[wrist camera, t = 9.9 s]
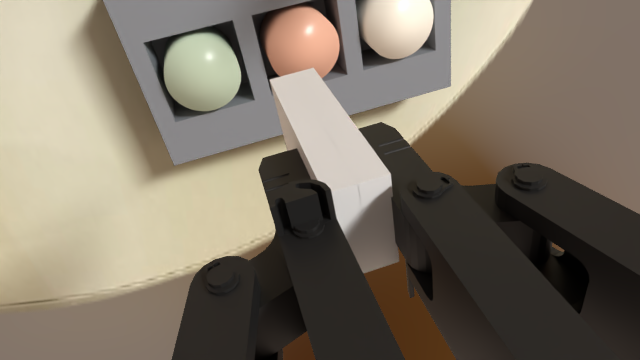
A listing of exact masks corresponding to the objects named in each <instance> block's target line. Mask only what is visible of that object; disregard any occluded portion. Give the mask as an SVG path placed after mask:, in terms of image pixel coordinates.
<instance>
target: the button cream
mask: <svg viewBox="0 0 640 360" xmlns="http://www.w3.org/2000/svg"><path fill="white" fill-rule="evenodd" d="M355 4H356V13H357V21H358V29H359V37H360V38H361V39H362V40H363V41H364V42H366V43H367V44H368V45H369V46H370V47H371V48H372V49H373V50H375V51H376V52H377V53H378V54H379V55H381V56H383V57H385V58H389V59H400V58H404V57H407V56H409V55H411V54H413V53H414V52H416V51H417V50H418V49H419V48H420V47H421V46H422V45H423V44H424V43H425V41H426V40H427V38H428V36H429V34H430V32H431V29H432V25H433V16H434V15H433V8H432V5H431V2H430V0H355Z"/></svg>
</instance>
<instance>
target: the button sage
mask: <svg viewBox="0 0 640 360" xmlns="http://www.w3.org/2000/svg"><path fill="white" fill-rule="evenodd" d="M164 80H165V84H166V87H167V89H168V91H169V93H170V94H171V96H172V97H173V98H174V99H175V100H176V101H177V102H178V103H180V104H181V105H183V106H185V107H187V108H189V109H192V110H196V111H211V110H215V109H218V108H221V107H223V106H224V105H226V104H227V103H229V102H230V101H231V100H232V99H233V98H234V96H235V95H236V93H237V91H238V89H239V86H240V82H241V71H240V67H239V64H238V61H237V58H236V55H235V53H234V50H233V47H232V45H231V43H230V41H229V40H228V38H227V37H226V36H225V35H224V34H223V33H222V32H221V31H219V30H218V29H216V28H214V27H212V26H208V27H204V28H200V29H196V30H192V31H188V32H184V33H180V34H176V35H172V36H171V37H170V38H169V40H168V42H167V44H166V47H165V52H164Z"/></svg>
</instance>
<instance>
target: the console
mask: <svg viewBox="0 0 640 360" xmlns="http://www.w3.org/2000/svg"><path fill="white" fill-rule="evenodd" d="M103 2H104V4H105V6H106V9H107V11H108V13H109V16H110V18H111V20H112V22H113V25H114V27H115V29H116V32H117V34H118V36H119V39H120V41H121V43H122V46H123V48H124V50H125V53H126V55H127V57H128V59H129V62H130V64H131V66H132V69H133V71H134V73H135V76H136V78H137V80H138V83H139V85H140V87H141V90H142V92H143V94H144V96H145V99H146V101H147V103H148V106H149V108H150V110H151V113H152V115H153V117H154V120H155V122H156V124H157V127H158V129H159V131H160V133H161V136H162V138H163V140H164V143H165V145H166V147H167V150H168V152H169V154H170V157H171V159H172V161H173V164H174V166H175V165H178V164H181V163H185V162H188V161H192V160H195V159H199V158H202V157H206V156H209V155H213V154H216V153H220V152H223V151H227V150H230V149H234V148H237V147H241V146H244V145H248V144H251V143H255V142H258V141H262V140H265V139H269V138H272V137H276V136H279V135H283V132H282V128H281V124H280V120H279V116H278V112H277V108H276V104H275V100H274V96H273V92H272V88H271V84H270V79H273V78H277V77H280V76H279V75H278V74H277V73H276V72H275V70H274V69H273V67H272V65H271V63H270V61H269V59H268V58H267V56H266V54H265V52H264V50H263V48H262V45H261V41H260V28H261V24H262V21H263V19H264V17H265V16H266V14H267V13H268V12H269V11H271V10H275V9H279V8H283V7H287V6H291V5H295V4H298V3H302V2H307V3H309V4H311V5H312V6H314V7H315V8H316V9H317V10H318V11H319V12H320V13H321V14H322V15H323V16H324V17H325V18H326V19H327V20H328V21H329V22H330V23H331V24H332V25H333V26H334V28H335V30H336V32H337V34H338V38H339V45H340V46H339V55H338V58H337V61H336V63H335V65H334V66H333V68H332V69H331V71H330V72H329V73H328V74H327V75H326V76H324V77H323V78H322V80H323V81H324V83H325V84H326V85H327V87H328V88H329V89H330V91H331V92H332V94H333V95H334V96H335V98H336V99H337V100H338V102H339V103H340V105H341V106H342V107H343V109H344V110H345V111H346V113H347V114H348V116H349V115H352V114H356V113H359V112H363V111H366V110H370V109H373V108H377V107H380V106H384V105H387V104H391V103H394V102H398V101H401V100H405V99H408V98H412V97H415V96H419V95H422V94H426V93H429V92H433V91H436V90H440V89H443V88H447V87H450V86H451V0H430V2H431V5H432V8H433V15H434V16H433V25H432V29H431V32H430V34H429V36H428V38H427V40H426V41H425V43H424V44H423V45H422V46H421V47H420V48H419V49H418V50H417V51H416V52H414V53H413V54H411V55H409V56H407V57H404V58H400V59H389V58H385V57H383V56H381V55H379V54H378V53H377V52H376V51H375V50H373V49H372V48H371V47H370V46H369V45H368V44H367V43H366V42H364V41H363V40H362V39H361V38H360V37H359V29H358V21H357V13H356V4H355V0H103ZM208 26H212V27H214V28H216V29H218V30H219V31H221V32H222V33H223V34H224V35H225V36H226V37H227V38H228V40H229V41H230V43H231V45H232V47H233V50H234V53H235V55H236V58H237V61H238V64H239V67H240V71H241V82H240V86H239V89H238V91H237V93H236V95H235V96H234V98H233V99H232V100H231V101H230V102H229V103H227V104H226V105H224V106H223V107H221V108H218V109H215V110H211V111H196V110H192V109H189V108H187V107H185V106H183V105H181V104H180V103H178V102H177V101H176V100H175V99H174V98H173V97H172V96H171V94H170V93H169V91H168V89H167V87H166V84H165V80H164V52H165V47H166V44H167V42H168V40H169V38H170V37H171V36H172V35H176V34H180V33H184V32H188V31H192V30H196V29H200V28H204V27H208Z"/></svg>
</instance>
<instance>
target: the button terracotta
mask: <svg viewBox="0 0 640 360" xmlns="http://www.w3.org/2000/svg"><path fill="white" fill-rule="evenodd" d="M260 41H261V45H262V48H263V50H264V52H265V54H266V56H267V58H268V59H269V61H270V63H271V65H272V67H273V69H274V70H275V72H276V73H277V74H278V75H279V76H280V77H281V76H284V75H288V74H292V73H296V72H299V71H303V70H307V69H310V68H314V69H315V70H316V72H317V73H318V74H319V76H320V77H321V78H323V77H324V76H326V75H327V74H328V73H329V72H330V71H331V69H332V68H333V66H334V65H335V63H336V61H337V58H338V55H339V46H340V45H339V38H338V34H337V32H336V30H335V28H334V26H333V25H332V24H331V23H330V22H329V21H328V20H327V19H326V18H325V17H324V16H323V15H322V14H321V13H320V12H319V11H318V10H317V9H316V8H315V7H314V6H312V5H311V4H309V3H307V2H302V3H298V4H295V5H291V6H287V7H283V8H279V9H275V10H271V11H269V12H268V13H267V14H266V16H265V17H264V19H263V21H262V24H261V28H260Z"/></svg>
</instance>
